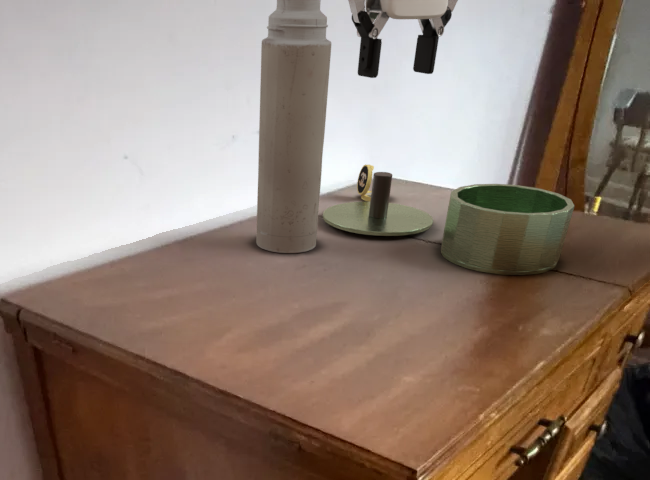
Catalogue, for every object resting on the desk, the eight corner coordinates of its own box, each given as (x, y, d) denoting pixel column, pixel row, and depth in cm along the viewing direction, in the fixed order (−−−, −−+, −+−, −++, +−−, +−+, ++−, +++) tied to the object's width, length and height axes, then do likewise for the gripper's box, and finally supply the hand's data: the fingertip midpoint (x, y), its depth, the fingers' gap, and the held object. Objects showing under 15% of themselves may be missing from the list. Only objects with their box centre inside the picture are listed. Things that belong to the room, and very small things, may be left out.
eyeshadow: (392, 201, 114) (397, 167, 110) (362, 202, 113) (366, 168, 110) (383, 194, 117) (387, 161, 114) (354, 195, 116) (357, 161, 113)
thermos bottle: (291, 231, 100) (306, -24, 82) (328, 247, 95) (351, -22, 77) (244, 240, 96) (249, -24, 79) (279, 257, 91) (293, -22, 74)
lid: (380, 204, 112) (386, 157, 108) (455, 229, 102) (464, 179, 98) (300, 218, 105) (303, 168, 101) (371, 247, 95) (378, 193, 91)
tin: (492, 233, 101) (504, 179, 97) (580, 262, 92) (598, 204, 87) (417, 249, 95) (426, 192, 90) (503, 283, 86) (519, 221, 81)
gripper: (383, -111, 75) (363, 82, 86) (495, -102, 83) (464, 74, 94) (338, -108, 80) (324, 74, 91) (448, -99, 88) (423, 68, 99)
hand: (395, 74), depth 92 cm, fingers open, 9 cm apart
